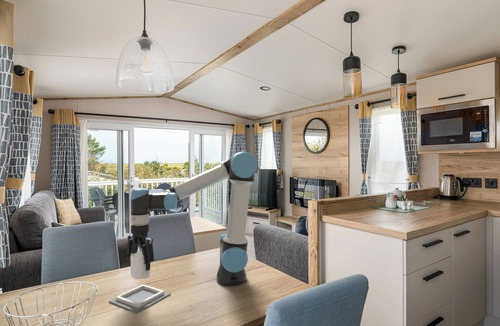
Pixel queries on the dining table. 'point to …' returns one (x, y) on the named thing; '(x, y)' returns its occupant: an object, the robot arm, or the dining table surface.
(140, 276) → the white cup
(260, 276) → the dining table surface
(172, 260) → the dining table surface
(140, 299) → the holder
